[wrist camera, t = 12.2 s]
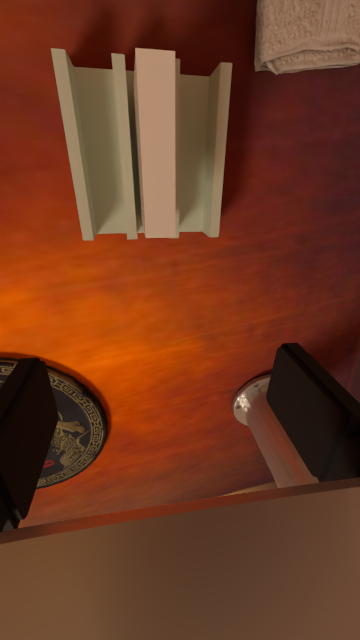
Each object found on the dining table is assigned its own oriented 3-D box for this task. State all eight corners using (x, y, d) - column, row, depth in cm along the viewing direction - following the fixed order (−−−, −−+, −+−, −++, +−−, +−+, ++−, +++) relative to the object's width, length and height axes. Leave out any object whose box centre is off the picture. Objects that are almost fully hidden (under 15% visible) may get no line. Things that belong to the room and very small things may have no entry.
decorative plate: (113, 480, 51) (-63, 505, 45) (113, 470, 52) (-56, 493, 47) (98, 355, 37) (-158, 371, 31) (99, 348, 38) (-144, 361, 33)
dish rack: (221, 81, 25) (238, 63, 21) (211, 229, 32) (222, 236, 28) (58, 69, 23) (43, 47, 19) (84, 232, 30) (78, 240, 26)
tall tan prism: (159, 95, 24) (175, 51, 16) (162, 219, 30) (175, 237, 21) (133, 94, 24) (135, 47, 15) (141, 220, 29) (145, 238, 21)
